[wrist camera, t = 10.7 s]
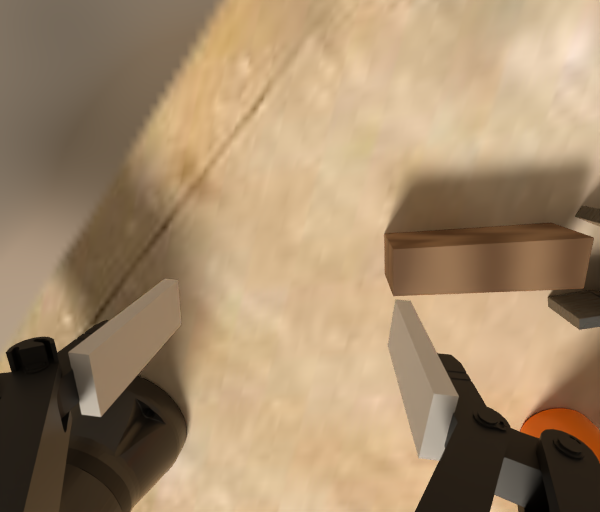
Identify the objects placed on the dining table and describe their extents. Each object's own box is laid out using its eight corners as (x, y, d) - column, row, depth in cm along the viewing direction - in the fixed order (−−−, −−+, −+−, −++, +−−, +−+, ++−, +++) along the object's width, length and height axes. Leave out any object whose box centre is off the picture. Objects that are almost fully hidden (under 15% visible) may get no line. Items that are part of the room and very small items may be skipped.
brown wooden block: (384, 273, 30) (393, 296, 26) (384, 233, 29) (393, 249, 25) (543, 265, 29) (583, 288, 24) (549, 222, 27) (593, 237, 23)
